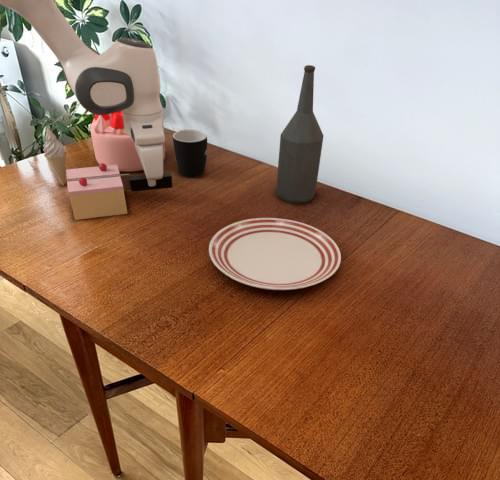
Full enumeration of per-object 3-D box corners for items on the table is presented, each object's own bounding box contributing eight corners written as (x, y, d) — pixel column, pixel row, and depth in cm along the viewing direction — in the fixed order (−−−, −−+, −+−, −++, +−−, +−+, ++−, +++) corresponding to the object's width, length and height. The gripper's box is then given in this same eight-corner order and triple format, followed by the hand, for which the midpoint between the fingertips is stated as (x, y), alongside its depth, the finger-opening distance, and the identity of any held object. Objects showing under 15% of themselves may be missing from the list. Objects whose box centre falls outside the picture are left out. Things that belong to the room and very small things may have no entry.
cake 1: (75, 220, 108) (66, 184, 102) (72, 196, 116) (64, 162, 110) (127, 213, 111) (121, 178, 105) (121, 191, 119) (116, 157, 113)
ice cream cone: (48, 185, 120) (32, 125, 109) (64, 179, 123) (50, 120, 112) (61, 191, 118) (45, 130, 107) (77, 184, 121) (63, 124, 110)
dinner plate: (245, 217, 111) (245, 204, 109) (354, 247, 103) (357, 234, 101) (184, 276, 93) (183, 262, 91) (311, 319, 85) (314, 305, 83)
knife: (75, 198, 109) (72, 182, 106) (75, 193, 111) (71, 177, 108) (172, 187, 115) (171, 171, 112) (170, 183, 116) (169, 167, 114)
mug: (211, 178, 126) (210, 140, 119) (178, 181, 124) (175, 143, 117) (202, 160, 134) (201, 124, 127) (171, 162, 132) (168, 126, 126)
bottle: (281, 183, 125) (292, 58, 105) (317, 189, 123) (335, 62, 103) (272, 201, 118) (282, 69, 97) (310, 207, 116) (328, 74, 96)
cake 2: (179, 159, 134) (175, 107, 125) (121, 179, 123) (112, 124, 114) (138, 139, 144) (132, 90, 134) (81, 157, 133) (70, 104, 123)
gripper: (123, 108, 110) (131, 165, 120) (135, 140, 96) (144, 202, 106) (150, 107, 112) (156, 163, 121) (166, 138, 98) (171, 198, 107)
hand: (150, 181), depth 113 cm, fingers closed on knife, 2 cm apart
